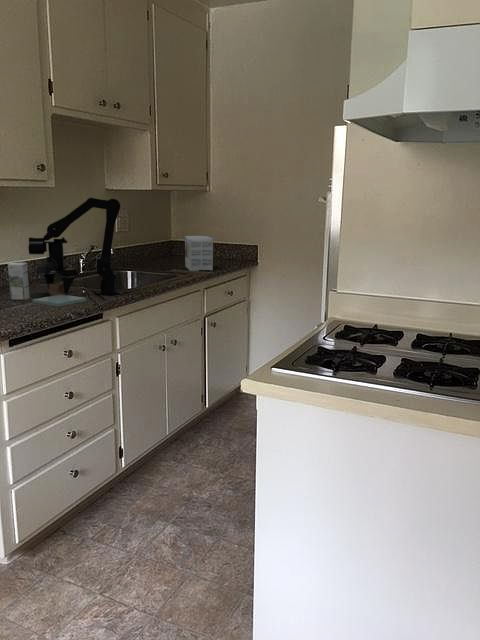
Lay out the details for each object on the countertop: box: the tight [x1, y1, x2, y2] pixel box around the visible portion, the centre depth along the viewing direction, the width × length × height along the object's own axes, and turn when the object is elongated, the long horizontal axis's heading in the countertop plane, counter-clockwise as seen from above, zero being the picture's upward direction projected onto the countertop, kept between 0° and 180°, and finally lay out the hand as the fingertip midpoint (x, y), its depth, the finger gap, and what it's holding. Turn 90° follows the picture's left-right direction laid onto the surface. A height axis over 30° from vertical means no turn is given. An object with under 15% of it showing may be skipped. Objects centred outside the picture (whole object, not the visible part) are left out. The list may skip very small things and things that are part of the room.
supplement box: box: [184, 235, 214, 272], centre depth 314 cm, size 17×13×18 cm
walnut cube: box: [48, 282, 68, 296], centre depth 228 cm, size 5×5×5 cm
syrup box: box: [7, 261, 30, 301], centre depth 218 cm, size 6×6×14 cm
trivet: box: [32, 294, 87, 308], centre depth 215 cm, size 14×14×1 cm
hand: (58, 292), depth 228 cm, fingers open, 9 cm apart
